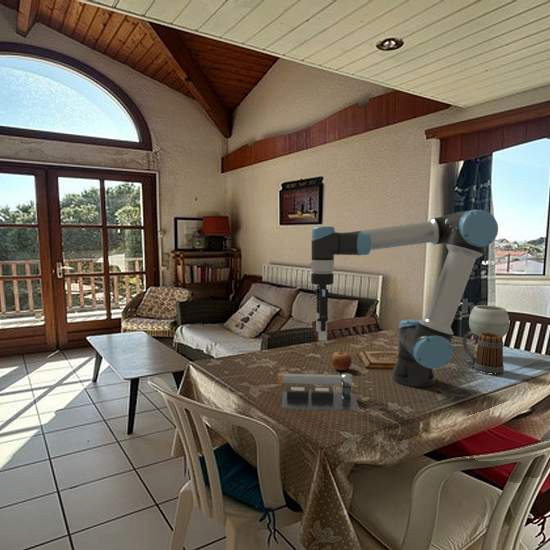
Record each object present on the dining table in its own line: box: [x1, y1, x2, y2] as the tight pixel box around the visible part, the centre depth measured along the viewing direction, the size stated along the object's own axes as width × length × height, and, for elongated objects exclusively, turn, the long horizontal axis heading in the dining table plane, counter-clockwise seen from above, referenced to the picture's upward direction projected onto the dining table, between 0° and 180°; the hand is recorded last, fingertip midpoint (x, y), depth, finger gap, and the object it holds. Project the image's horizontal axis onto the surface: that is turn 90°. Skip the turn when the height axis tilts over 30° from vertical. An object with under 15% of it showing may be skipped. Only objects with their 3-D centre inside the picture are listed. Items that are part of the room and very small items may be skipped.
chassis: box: [281, 385, 361, 412], centre depth 127 cm, size 24×13×5 cm, turn 87°
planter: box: [468, 304, 510, 352], centre depth 179 cm, size 16×16×22 cm
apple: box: [331, 349, 352, 371], centre depth 160 cm, size 8×8×8 cm
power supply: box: [310, 386, 334, 400], centre depth 130 cm, size 7×5×2 cm
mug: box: [462, 331, 505, 375], centre depth 161 cm, size 16×11×15 cm
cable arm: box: [277, 372, 353, 387], centre depth 130 cm, size 24×4×3 cm, turn 87°
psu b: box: [286, 385, 309, 400], centre depth 130 cm, size 7×5×2 cm
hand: (321, 335), depth 135 cm, fingers open, 11 cm apart
